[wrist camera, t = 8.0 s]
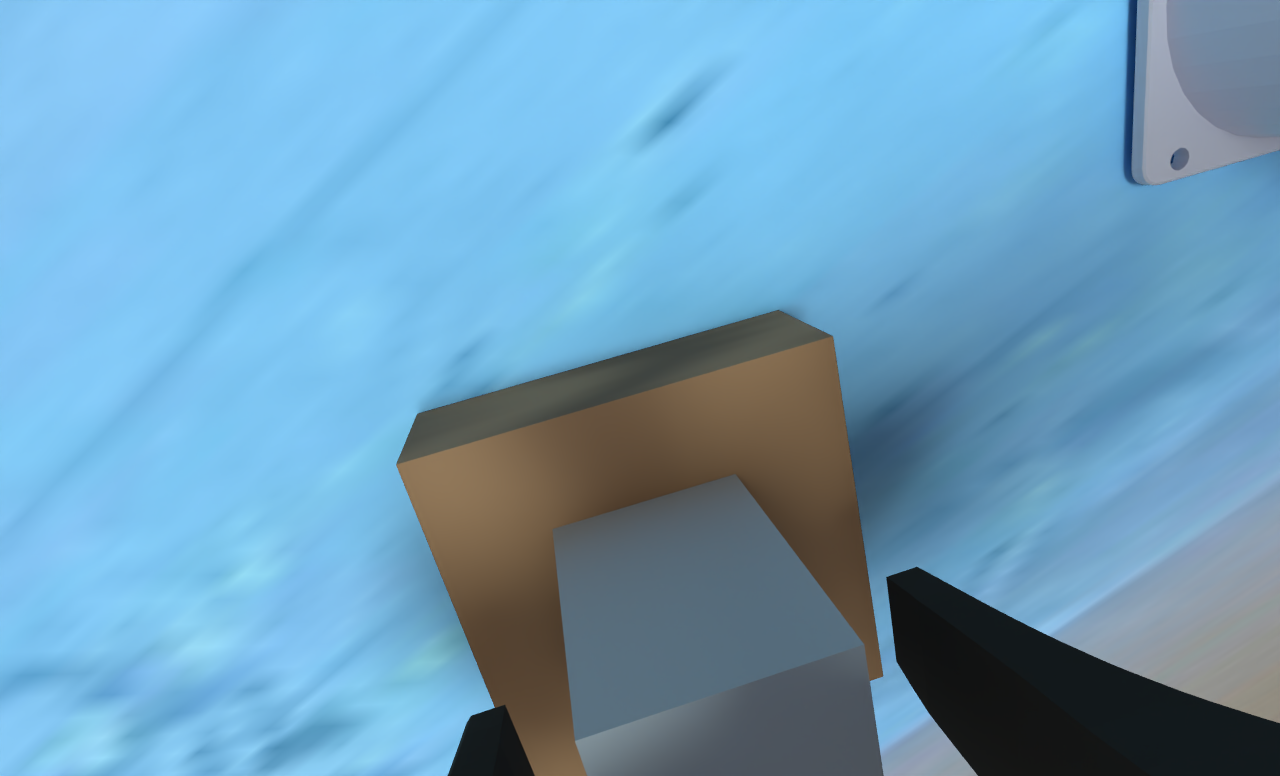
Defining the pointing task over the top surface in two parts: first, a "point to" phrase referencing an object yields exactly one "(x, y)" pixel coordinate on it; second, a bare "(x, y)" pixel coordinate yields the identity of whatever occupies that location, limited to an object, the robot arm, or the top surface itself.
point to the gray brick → (707, 645)
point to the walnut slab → (628, 489)
